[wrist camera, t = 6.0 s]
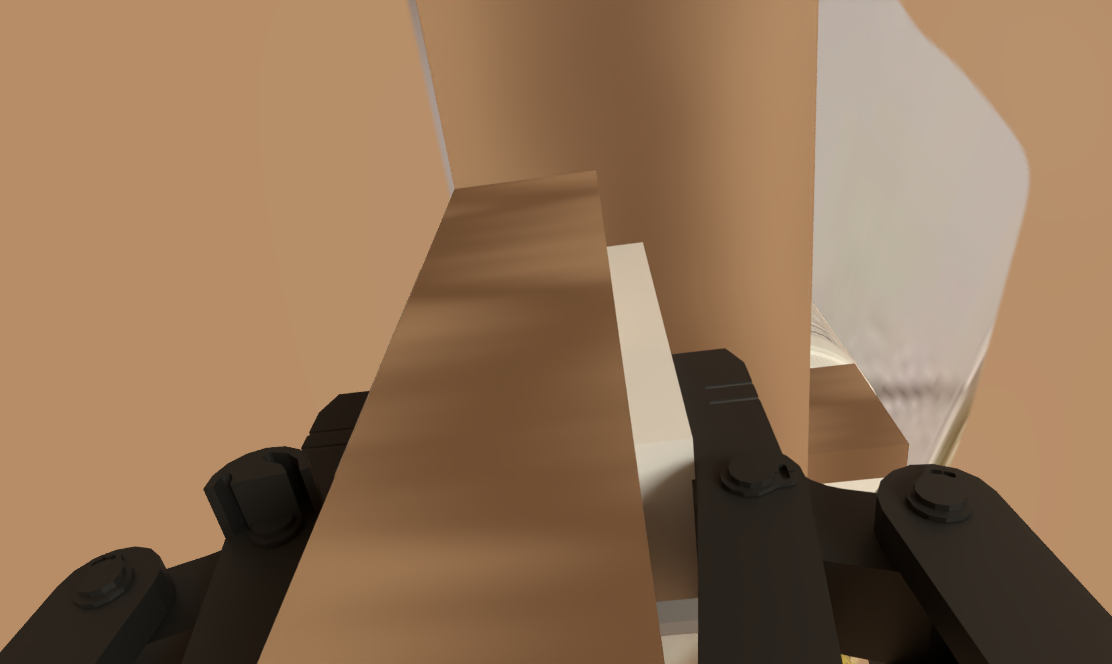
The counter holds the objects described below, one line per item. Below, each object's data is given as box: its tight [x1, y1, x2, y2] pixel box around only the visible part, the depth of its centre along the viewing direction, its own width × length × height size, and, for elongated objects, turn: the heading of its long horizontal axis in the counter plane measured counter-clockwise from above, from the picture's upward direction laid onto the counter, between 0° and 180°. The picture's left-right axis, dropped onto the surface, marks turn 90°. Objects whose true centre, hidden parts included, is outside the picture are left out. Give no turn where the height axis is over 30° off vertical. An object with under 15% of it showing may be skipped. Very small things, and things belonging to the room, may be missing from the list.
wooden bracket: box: [257, 0, 909, 664], centre depth 13 cm, size 10×13×16 cm
